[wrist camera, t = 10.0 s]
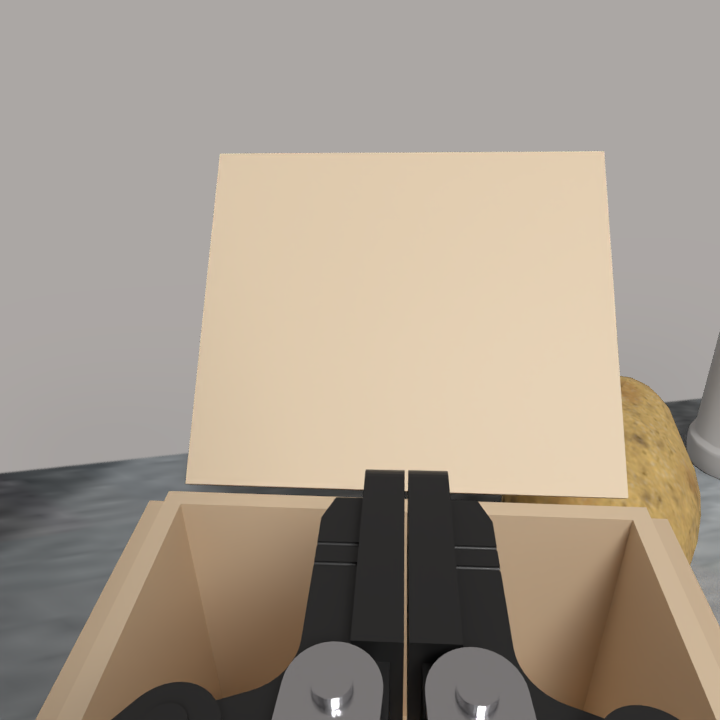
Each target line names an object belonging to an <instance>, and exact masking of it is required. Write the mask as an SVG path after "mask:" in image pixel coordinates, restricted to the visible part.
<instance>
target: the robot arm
mask: <svg viewBox="0 0 720 720" xmlns="http://www.w3.org/2000/svg"><path fill="white" fill-rule="evenodd" d="M404 523H405V470H374V469H366V471H365V479H364V491H363V498H350V497H336V498H335V499H334V501H333V502H332V503H331V505H330V506H329V507H328V509H327V510H326V512H325V513H324V514H323V516H322V517H321V522H320V528H319V534H318V540H317V546H316V552H315V558H314V566H313V570H312V576H311V583H310V589H309V595H308V601H307V607H306V613H305V619H304V625H303V631H302V637H301V642H300V646H299V649H298V651H297V653H296V656H295V657H294V659H293V660H292V662H291V663H290V665H289V666H288V667H287V668H286V669H285V671H283V672H282V673H281V674H280V675H279V676H278V677H276V678H275V679H274V680H272V681H271V682H269V683H267V684H265V685H263V686H261V687H259V688H256V689H253V690H250V691H247V692H243V693H240V694H236V695H233V696H229V697H225V698H222V699H218V700H216V699H215V698H214V697H213V696H212V694H211V693H210V692H209V691H207V690H206V689H205V688H203V687H201V686H199V685H197V684H193V683H190V682H172V683H167V684H163V685H160V686H158V687H155V688H153V689H151V690H149V691H147V692H145V693H144V694H143V695H141V696H140V697H138V698H137V699H136V700H135V701H133V702H132V703H131V704H130V705H128V706H127V707H126V708H125V709H124V710H122V711H121V712H120V713H119V714H117V715H116V716H115V717H114V718H112V719H111V720H403V674H404ZM407 720H679V719H678V718H676V717H674V716H673V715H671V714H669V713H667V712H664V711H662V710H660V709H656V708H653V707H650V706H643V705H629V706H624V707H620V708H618V709H615V710H614V711H612V712H611V713H609V714H608V715H607V716H606V717H605V718H602V717H599V716H596V715H593V714H591V713H588V712H585V711H582V710H580V709H577V708H574V707H571V706H569V705H566V704H564V703H561V702H559V701H557V700H555V699H553V698H552V697H550V696H548V695H547V694H545V693H544V692H543V691H541V690H540V689H539V688H538V687H537V686H535V685H534V684H533V683H532V682H531V681H530V679H529V678H528V677H527V676H526V674H525V673H524V672H523V670H522V668H521V667H520V665H519V663H518V661H517V658H516V656H515V652H514V648H513V642H512V635H511V629H510V623H509V617H508V611H507V605H506V599H505V593H504V587H503V581H502V575H501V572H500V563H499V557H498V551H497V545H496V539H495V533H494V527H493V522H492V520H491V519H490V517H489V516H488V515H487V513H486V512H485V510H484V509H483V508H482V506H481V505H480V503H479V502H478V501H474V500H451V499H450V488H449V476H448V471H426V470H408V505H407Z"/></svg>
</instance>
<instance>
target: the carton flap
mask: <svg viewBox="0 0 720 720" xmlns="http://www.w3.org/2000/svg"><path fill="white" fill-rule="evenodd" d="M208 264H209V265H208V273H207V283H206V293H205V302H204V311H203V321H202V330H201V340H200V349H199V359H198V368H197V378H196V388H195V397H194V407H193V417H192V426H191V435H190V445H189V454H188V464H187V473H186V483H185V484H190V485H220V486H250V487H280V488H310V489H340V490H364V479H365V471H366V469H374V470H405V492H408V470H426V471H448V476H449V488H450V493H460V494H490V495H520V496H550V497H580V498H610V499H627V498H628V485H627V471H626V456H625V442H624V428H623V413H622V399H621V385H620V371H619V356H618V343H617V328H616V314H615V300H614V285H613V271H612V256H611V243H610V229H609V214H608V200H607V185H606V171H605V157H604V151H593V152H592V151H584V152H583V151H581V152H579V151H577V152H433V153H432V152H431V153H430V152H422V153H421V152H420V153H419V152H418V153H417V152H416V153H271V154H270V153H264V154H263V153H260V154H258V153H256V154H255V153H253V154H220V159H219V169H218V178H217V188H216V198H215V206H214V216H213V225H212V235H211V244H210V254H209V263H208Z"/></svg>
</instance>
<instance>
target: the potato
mask: <svg viewBox="0 0 720 720" xmlns="http://www.w3.org/2000/svg"><path fill="white" fill-rule="evenodd" d="M620 385H621V399H622V413H623V428H624V442H625V456H626V471H627V485H628V498H627V499H610V498H580V497H550V496H520V495H502V502H503V503H532V504H561V505H590V506H619V507H646V508H647V510H648V512H649V514H650V517H651V518H655V519H668V521H669V523H670V525H671V527H672V529H673V532H674V534H675V536H676V538H677V540H678V542H679V544H680V546H681V548H682V550H683V552H684V554H685V556H686V558H687V560H688V563H689V565H690V564H691V560H692V557H693V554H694V551H695V548H696V544H697V540H698V532H699V525H700V517H701V507H700V491H699V487H698V482H697V478H696V473H695V469H694V467H693V464H692V462H691V460H690V457H689V455H688V453H687V450H686V448H685V446H684V443H683V441H682V439H681V436H680V434H679V431H678V429H677V427H676V424H675V422H674V419H673V417H672V414H671V412H670V410H669V408H668V406H667V405H666V404H665V403H664V402H663V400H662V399H661V398H660V397H659V396H658V395H657V394H656V393H655V392H654V391H653V390H652V389H651V388H650V387H649V386H647V385H645V384H643V383H641V382H639V381H637V380H635V379H633V378H629V377H623V376H620Z"/></svg>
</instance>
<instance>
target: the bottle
mask: <svg viewBox="0 0 720 720" xmlns="http://www.w3.org/2000/svg"><path fill="white" fill-rule="evenodd" d="M687 453H688V455H689V457H690V460H691V461H692V463H693V464H694V465H695V466H697V467H698V468H699V469H701V470H702V471H703V472H705V473H707V474H709V475H711V476H714V477H716V478H718V479H720V333H719V337H718V340H717V344H716V348H715V352H714V355H713V359H712V363H711V367H710V371H709V374H708V378H707V382H706V385H705V389H704V393H703V397H702V400H701V404H700V408H699V412H698V415H697V418H696V419H695V420H694V421H693V422H692V423H691V424H690V426H689V430H688V434H687Z"/></svg>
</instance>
